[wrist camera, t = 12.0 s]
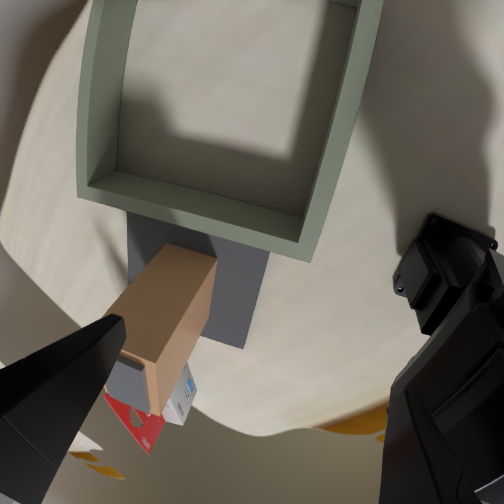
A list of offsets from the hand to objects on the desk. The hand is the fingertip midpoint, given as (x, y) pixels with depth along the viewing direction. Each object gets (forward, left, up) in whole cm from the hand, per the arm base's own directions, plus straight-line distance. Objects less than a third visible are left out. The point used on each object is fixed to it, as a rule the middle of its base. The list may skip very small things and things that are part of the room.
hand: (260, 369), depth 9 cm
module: (+7, +8, -12) cm, 16 cm away
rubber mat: (+7, +8, -13) cm, 17 cm away
